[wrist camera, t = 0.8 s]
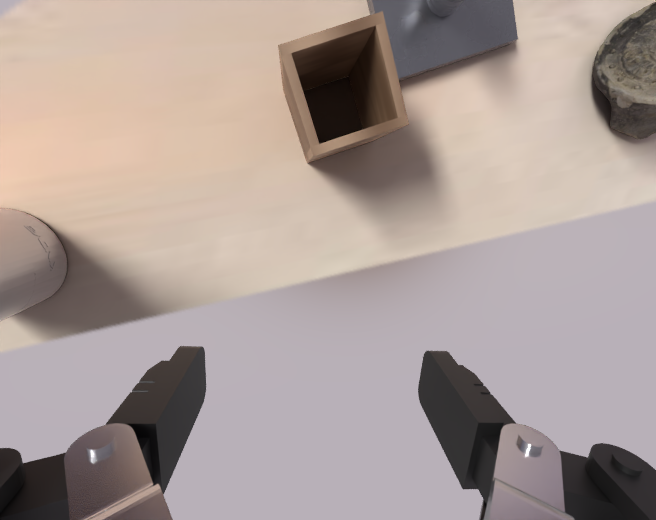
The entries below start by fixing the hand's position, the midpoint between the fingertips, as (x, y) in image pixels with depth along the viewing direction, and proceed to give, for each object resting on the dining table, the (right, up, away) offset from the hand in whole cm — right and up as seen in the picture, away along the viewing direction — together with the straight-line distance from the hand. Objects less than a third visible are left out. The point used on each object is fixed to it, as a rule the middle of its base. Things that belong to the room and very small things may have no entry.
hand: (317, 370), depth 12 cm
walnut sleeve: (+1, +17, +18) cm, 25 cm away
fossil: (+30, +23, +20) cm, 43 cm away
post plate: (+10, +27, +17) cm, 33 cm away
